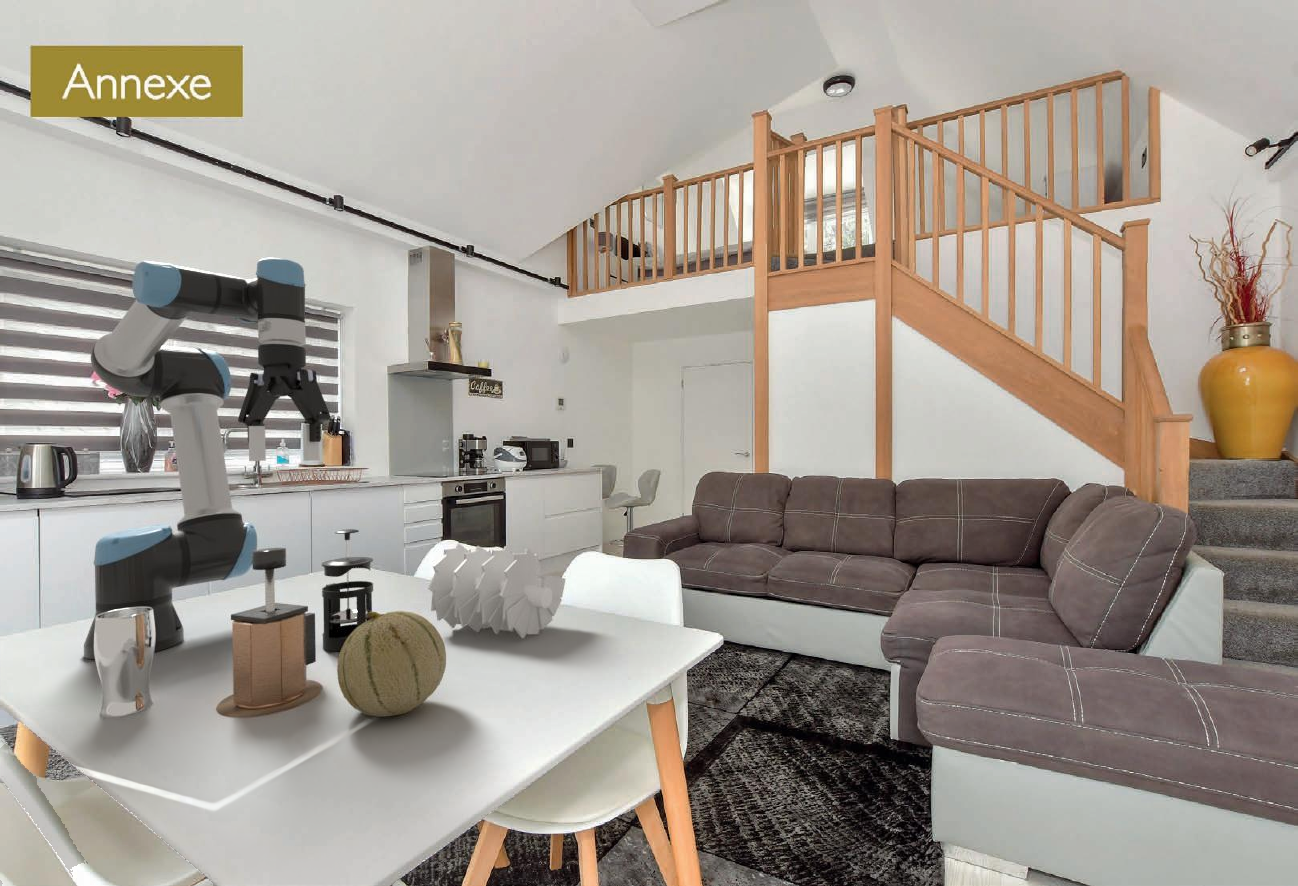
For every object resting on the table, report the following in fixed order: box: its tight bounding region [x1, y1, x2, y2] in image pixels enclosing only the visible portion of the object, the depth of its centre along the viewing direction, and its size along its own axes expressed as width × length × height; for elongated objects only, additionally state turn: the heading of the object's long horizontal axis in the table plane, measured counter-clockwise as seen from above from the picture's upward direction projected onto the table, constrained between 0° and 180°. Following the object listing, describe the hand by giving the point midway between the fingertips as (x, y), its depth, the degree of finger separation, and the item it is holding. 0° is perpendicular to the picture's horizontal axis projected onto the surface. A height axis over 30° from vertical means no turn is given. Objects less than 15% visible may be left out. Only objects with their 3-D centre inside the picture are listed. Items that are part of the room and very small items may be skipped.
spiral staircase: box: [428, 543, 566, 639], centre depth 128 cm, size 18×18×25 cm
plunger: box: [252, 547, 287, 613], centre depth 94 cm, size 6×6×21 cm
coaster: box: [215, 679, 324, 719], centre depth 94 cm, size 14×14×1 cm
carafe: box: [230, 602, 317, 710], centre depth 95 cm, size 9×12×13 cm
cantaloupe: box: [336, 610, 447, 718], centre depth 90 cm, size 15×15×15 cm
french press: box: [321, 528, 374, 654], centre depth 119 cm, size 12×9×23 cm
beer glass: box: [94, 607, 156, 719], centre depth 91 cm, size 7×7×15 cm
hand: (283, 460), depth 112 cm, fingers open, 13 cm apart
